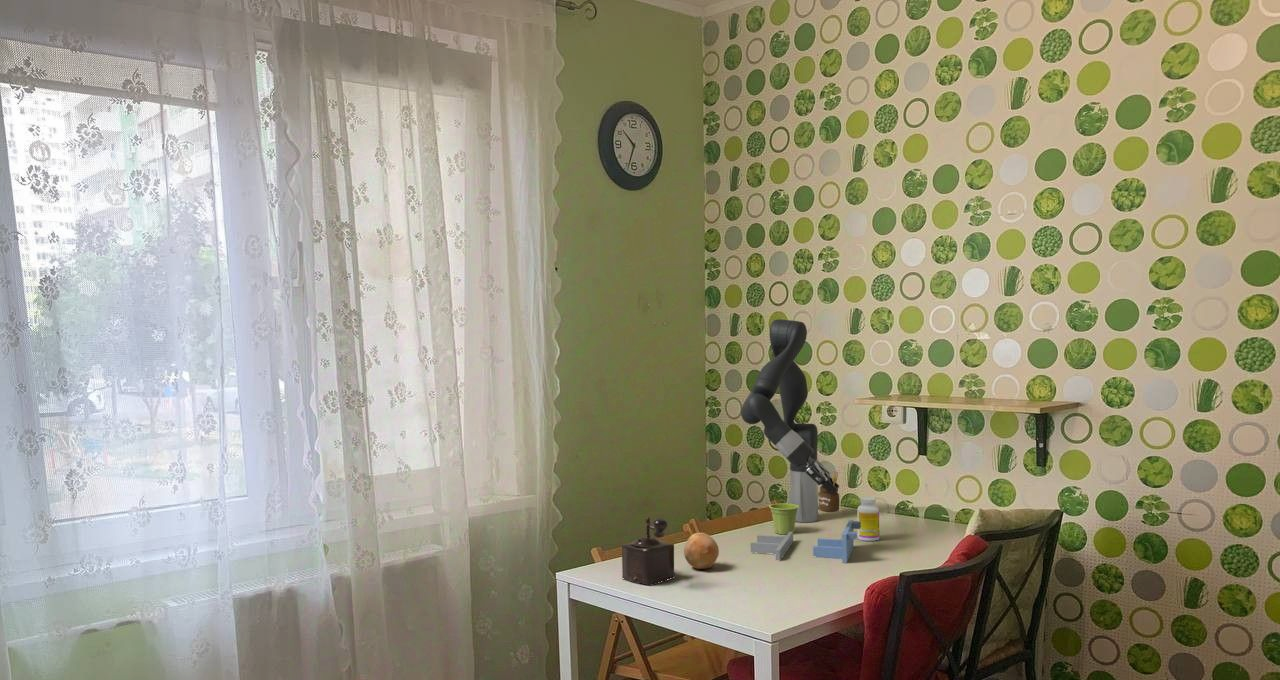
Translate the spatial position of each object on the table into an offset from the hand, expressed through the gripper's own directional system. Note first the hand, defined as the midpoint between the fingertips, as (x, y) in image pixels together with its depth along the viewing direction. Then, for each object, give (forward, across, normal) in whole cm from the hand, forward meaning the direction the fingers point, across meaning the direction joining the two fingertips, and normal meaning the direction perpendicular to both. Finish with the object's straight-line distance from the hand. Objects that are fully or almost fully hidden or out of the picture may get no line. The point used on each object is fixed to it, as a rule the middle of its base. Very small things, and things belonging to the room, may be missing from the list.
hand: (835, 490), depth 269 cm
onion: (-11, -26, +38) cm, 47 cm away
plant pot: (0, +23, +27) cm, 36 cm away
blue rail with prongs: (+13, 0, +13) cm, 19 cm away
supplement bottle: (+19, +20, +8) cm, 29 cm away
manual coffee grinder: (-17, -40, +44) cm, 62 cm away
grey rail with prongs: (-1, 0, +27) cm, 27 cm away
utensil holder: (+3, 0, +6) cm, 6 cm away
